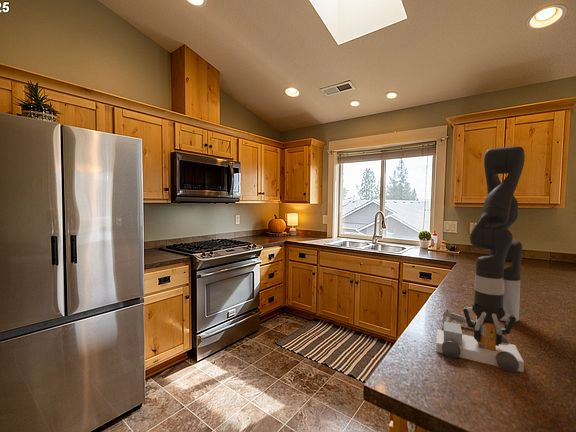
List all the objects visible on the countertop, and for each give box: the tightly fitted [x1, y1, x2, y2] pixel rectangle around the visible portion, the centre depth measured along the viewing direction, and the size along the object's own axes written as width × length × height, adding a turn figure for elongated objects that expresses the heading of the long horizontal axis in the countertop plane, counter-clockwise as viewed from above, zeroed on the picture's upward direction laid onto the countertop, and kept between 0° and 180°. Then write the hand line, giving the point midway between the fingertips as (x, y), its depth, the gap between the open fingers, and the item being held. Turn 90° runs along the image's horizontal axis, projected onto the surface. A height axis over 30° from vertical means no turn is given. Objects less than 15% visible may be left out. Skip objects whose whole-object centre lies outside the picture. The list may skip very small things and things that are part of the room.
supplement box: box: [479, 322, 496, 351], centre depth 86 cm, size 3×3×10 cm
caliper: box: [442, 308, 476, 324], centre depth 106 cm, size 20×1×6 cm, turn 62°
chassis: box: [436, 320, 525, 373], centre depth 88 cm, size 15×22×7 cm
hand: (487, 342), depth 86 cm, fingers open, 4 cm apart
